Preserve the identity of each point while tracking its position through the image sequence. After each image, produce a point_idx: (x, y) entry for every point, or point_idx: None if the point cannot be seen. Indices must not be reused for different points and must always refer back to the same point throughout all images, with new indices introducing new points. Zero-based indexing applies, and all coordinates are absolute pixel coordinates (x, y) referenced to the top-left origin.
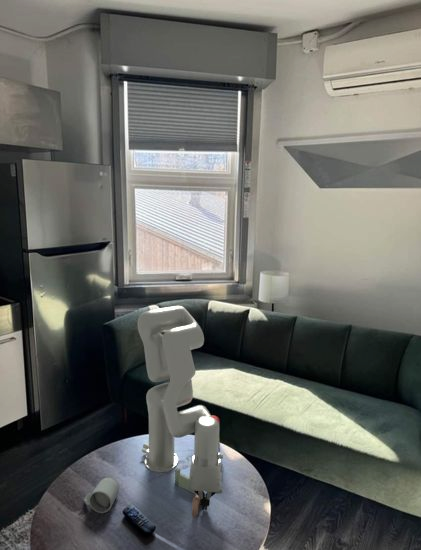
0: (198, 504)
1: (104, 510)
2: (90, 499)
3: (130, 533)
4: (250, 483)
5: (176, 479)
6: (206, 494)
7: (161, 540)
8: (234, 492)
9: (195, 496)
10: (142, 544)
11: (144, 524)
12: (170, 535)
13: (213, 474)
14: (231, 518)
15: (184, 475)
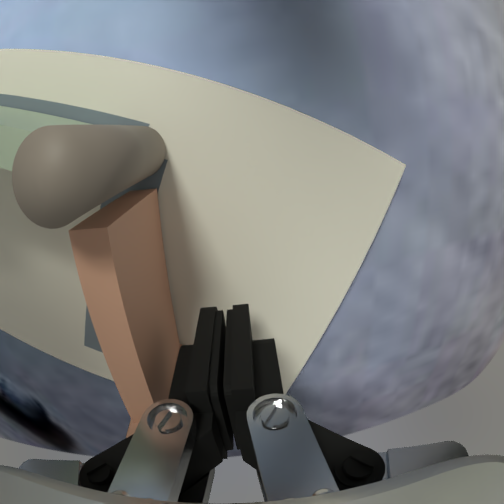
0: (165, 305)
1: None
2: None
3: (4, 417)
4: (494, 4)
5: None
6: (246, 450)
7: (97, 446)
8: (436, 63)
9: (118, 387)
10: (57, 449)
11: (5, 392)
12: (113, 435)
13: None
14: (415, 305)
15: None
